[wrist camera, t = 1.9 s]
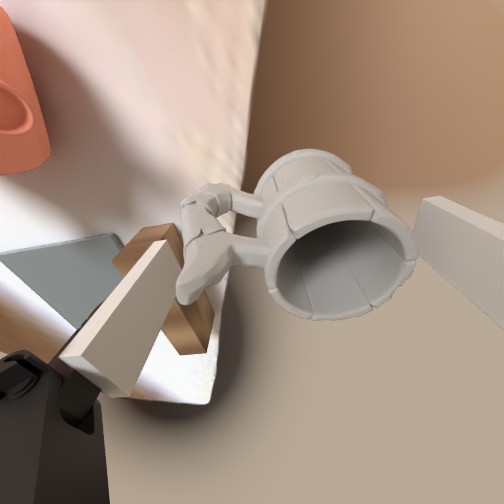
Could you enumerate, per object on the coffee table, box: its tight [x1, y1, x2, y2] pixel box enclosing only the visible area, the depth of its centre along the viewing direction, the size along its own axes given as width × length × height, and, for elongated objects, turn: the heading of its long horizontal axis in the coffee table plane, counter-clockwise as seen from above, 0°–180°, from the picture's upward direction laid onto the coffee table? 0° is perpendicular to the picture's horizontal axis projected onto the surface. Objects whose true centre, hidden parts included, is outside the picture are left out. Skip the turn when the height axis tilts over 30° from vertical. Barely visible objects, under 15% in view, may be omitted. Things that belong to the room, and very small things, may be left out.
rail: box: [111, 223, 215, 355], centre depth 20 cm, size 13×3×5 cm, turn 11°
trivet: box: [0, 233, 124, 329], centre depth 24 cm, size 13×13×1 cm
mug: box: [176, 149, 418, 320], centre depth 12 cm, size 8×12×12 cm, turn 81°
